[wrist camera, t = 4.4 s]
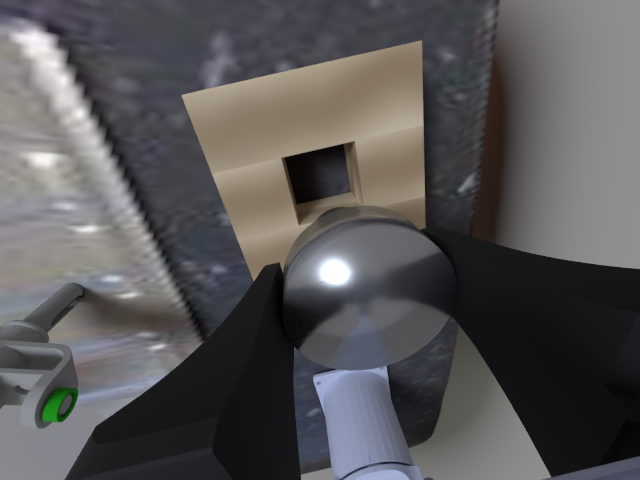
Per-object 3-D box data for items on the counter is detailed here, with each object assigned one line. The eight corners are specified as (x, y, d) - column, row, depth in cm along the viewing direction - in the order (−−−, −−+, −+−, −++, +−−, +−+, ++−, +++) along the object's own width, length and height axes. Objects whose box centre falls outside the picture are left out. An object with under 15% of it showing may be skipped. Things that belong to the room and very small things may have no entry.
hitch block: (403, 226, 22) (426, 249, 19) (261, 259, 22) (256, 288, 19) (392, 53, 17) (421, 40, 13) (203, 96, 17) (181, 95, 13)
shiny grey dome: (398, 268, 15) (454, 349, 10) (298, 291, 15) (305, 385, 10) (390, 166, 12) (460, 209, 7) (269, 194, 12) (258, 256, 7)
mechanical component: (145, 312, 23) (58, 441, 14) (2, 298, 21) (-203, 439, 12) (144, 284, 22) (47, 406, 13) (-9, 267, 20) (-244, 397, 11)
